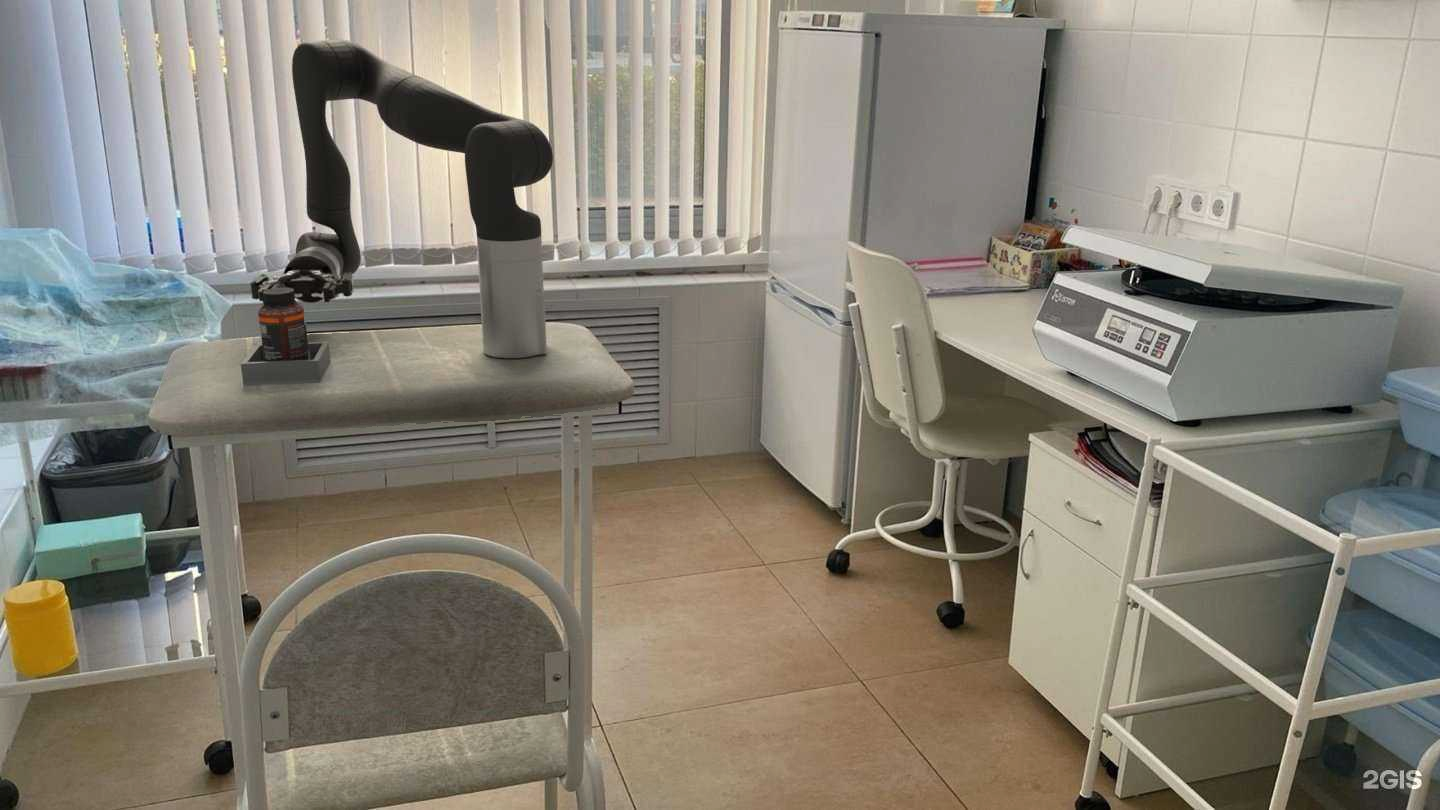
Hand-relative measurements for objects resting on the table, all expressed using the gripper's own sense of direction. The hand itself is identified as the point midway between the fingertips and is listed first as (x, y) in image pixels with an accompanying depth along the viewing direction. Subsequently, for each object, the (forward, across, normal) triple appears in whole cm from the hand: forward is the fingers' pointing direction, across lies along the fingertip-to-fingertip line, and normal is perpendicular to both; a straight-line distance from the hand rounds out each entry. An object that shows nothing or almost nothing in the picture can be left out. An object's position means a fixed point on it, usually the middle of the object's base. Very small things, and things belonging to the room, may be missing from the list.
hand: (295, 296), depth 166 cm
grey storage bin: (+11, 0, +8) cm, 14 cm away
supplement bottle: (+11, 0, +8) cm, 14 cm away
